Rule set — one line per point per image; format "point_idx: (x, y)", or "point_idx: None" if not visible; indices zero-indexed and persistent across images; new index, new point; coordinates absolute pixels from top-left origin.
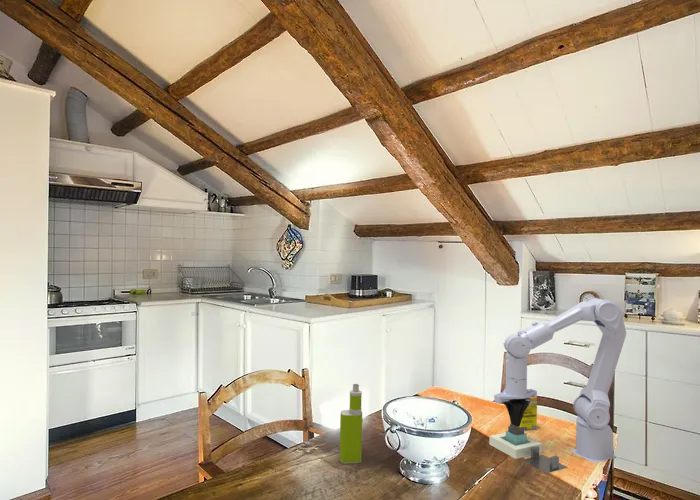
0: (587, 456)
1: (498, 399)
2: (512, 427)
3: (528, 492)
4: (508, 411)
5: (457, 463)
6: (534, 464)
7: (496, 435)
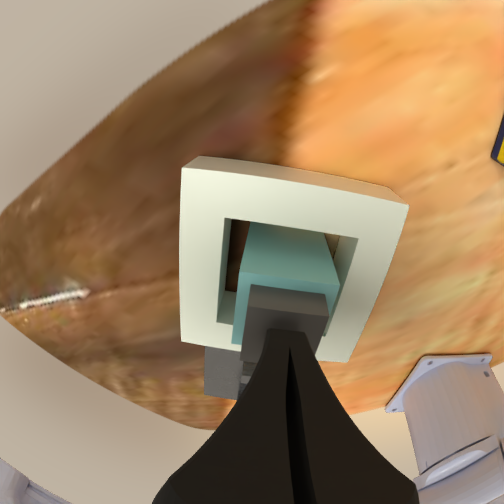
0: (402, 402)
1: (9, 497)
2: (258, 329)
3: (107, 385)
4: (235, 406)
5: (11, 213)
6: (219, 363)
7: (231, 186)
